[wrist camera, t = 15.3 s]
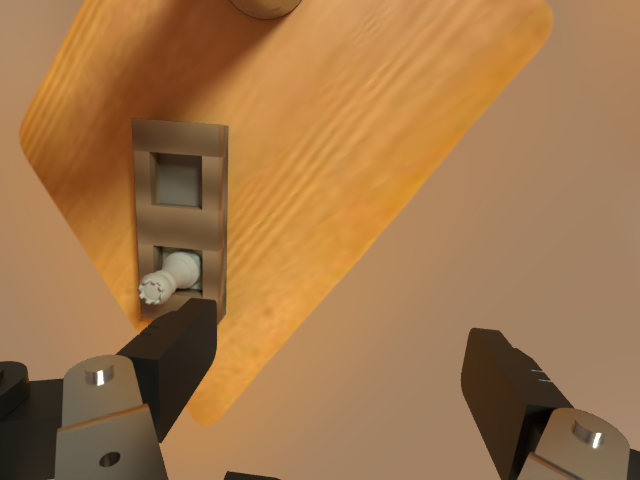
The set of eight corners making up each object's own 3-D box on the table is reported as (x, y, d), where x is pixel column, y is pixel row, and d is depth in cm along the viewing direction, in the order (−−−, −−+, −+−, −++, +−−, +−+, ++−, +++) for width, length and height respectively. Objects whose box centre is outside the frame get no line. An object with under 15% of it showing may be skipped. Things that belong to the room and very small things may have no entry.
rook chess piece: (174, 287, 44) (136, 317, 36) (162, 251, 43) (121, 274, 35) (209, 281, 43) (179, 310, 35) (199, 244, 42) (164, 266, 34)
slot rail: (147, 119, 40) (131, 117, 38) (228, 126, 40) (218, 124, 37) (154, 306, 46) (141, 317, 43) (225, 313, 45) (217, 325, 43)
